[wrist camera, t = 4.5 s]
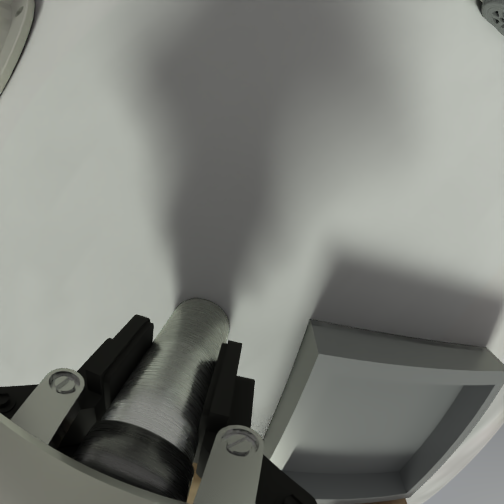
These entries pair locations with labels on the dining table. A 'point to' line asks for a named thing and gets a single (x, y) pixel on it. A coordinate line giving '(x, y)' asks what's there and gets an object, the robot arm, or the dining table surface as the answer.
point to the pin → (161, 406)
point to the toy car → (494, 13)
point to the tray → (376, 411)
